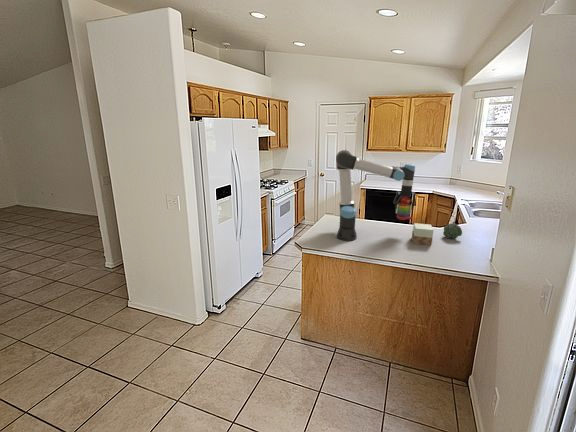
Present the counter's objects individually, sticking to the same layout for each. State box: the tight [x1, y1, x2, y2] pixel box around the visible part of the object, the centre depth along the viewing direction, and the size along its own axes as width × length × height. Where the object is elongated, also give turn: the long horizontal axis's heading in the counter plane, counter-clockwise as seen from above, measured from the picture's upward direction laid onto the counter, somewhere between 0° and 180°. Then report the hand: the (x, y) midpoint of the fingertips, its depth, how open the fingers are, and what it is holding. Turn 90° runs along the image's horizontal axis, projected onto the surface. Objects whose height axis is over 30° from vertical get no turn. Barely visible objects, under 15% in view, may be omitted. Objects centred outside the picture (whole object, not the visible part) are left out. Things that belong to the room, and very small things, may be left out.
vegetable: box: [443, 223, 463, 240], centre depth 239 cm, size 12×13×15 cm
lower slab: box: [411, 230, 433, 246], centre depth 232 cm, size 12×12×6 cm
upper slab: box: [412, 222, 434, 239], centre depth 230 cm, size 12×12×6 cm
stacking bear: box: [395, 196, 412, 221], centre depth 239 cm, size 11×10×18 cm
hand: (403, 213), depth 241 cm, fingers closed on stacking bear, 9 cm apart
